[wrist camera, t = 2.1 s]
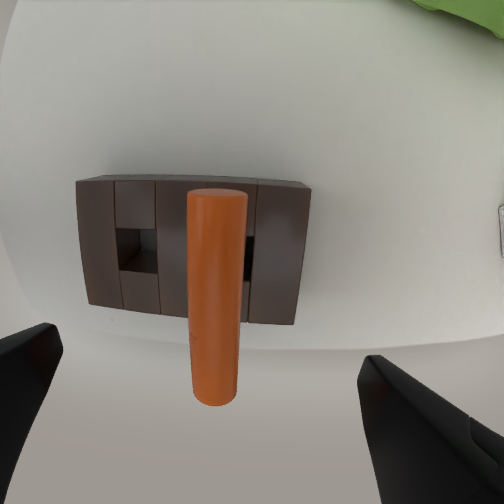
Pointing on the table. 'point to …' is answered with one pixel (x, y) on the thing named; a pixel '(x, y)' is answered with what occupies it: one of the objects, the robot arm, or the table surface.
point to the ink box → (502, 227)
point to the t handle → (215, 289)
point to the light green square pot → (472, 11)
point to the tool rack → (175, 243)
